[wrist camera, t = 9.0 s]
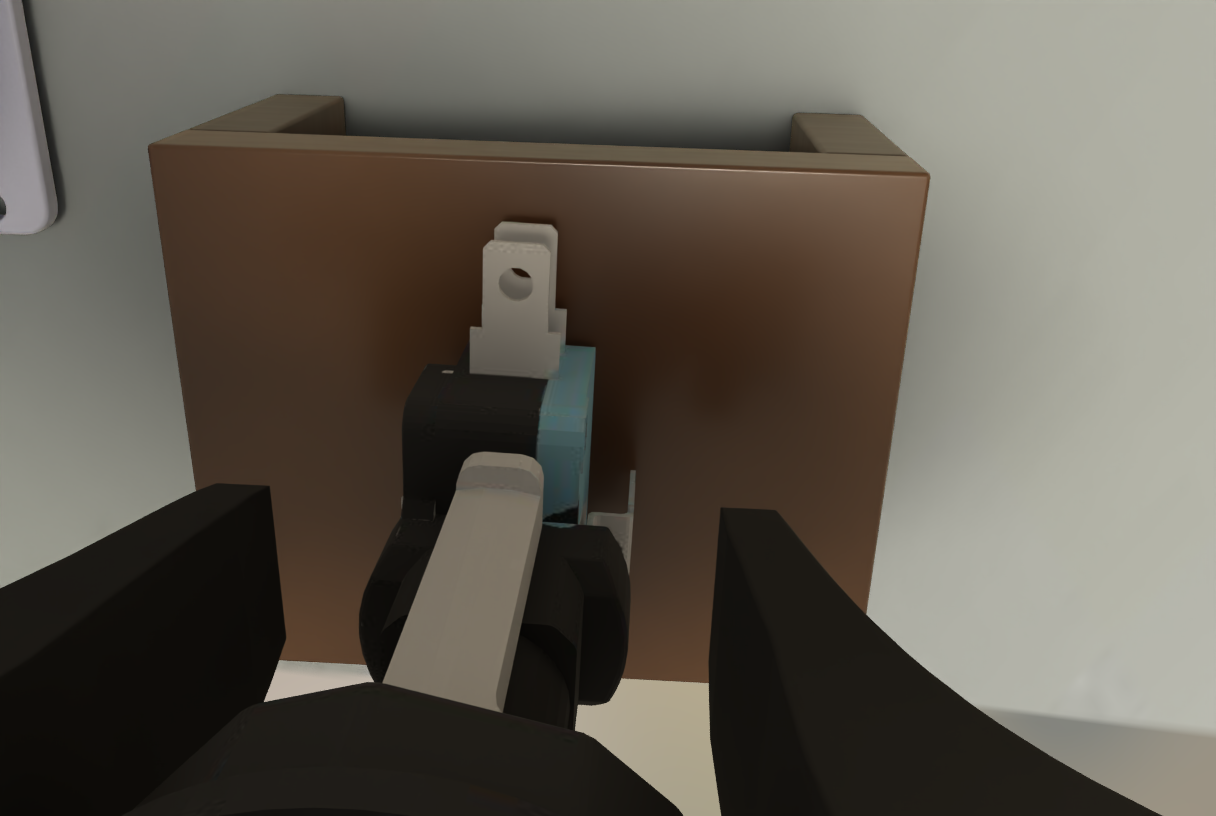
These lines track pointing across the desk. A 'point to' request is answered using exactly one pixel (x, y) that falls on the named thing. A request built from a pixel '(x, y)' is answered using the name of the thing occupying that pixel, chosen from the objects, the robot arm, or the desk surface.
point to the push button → (466, 604)
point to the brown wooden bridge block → (596, 317)
